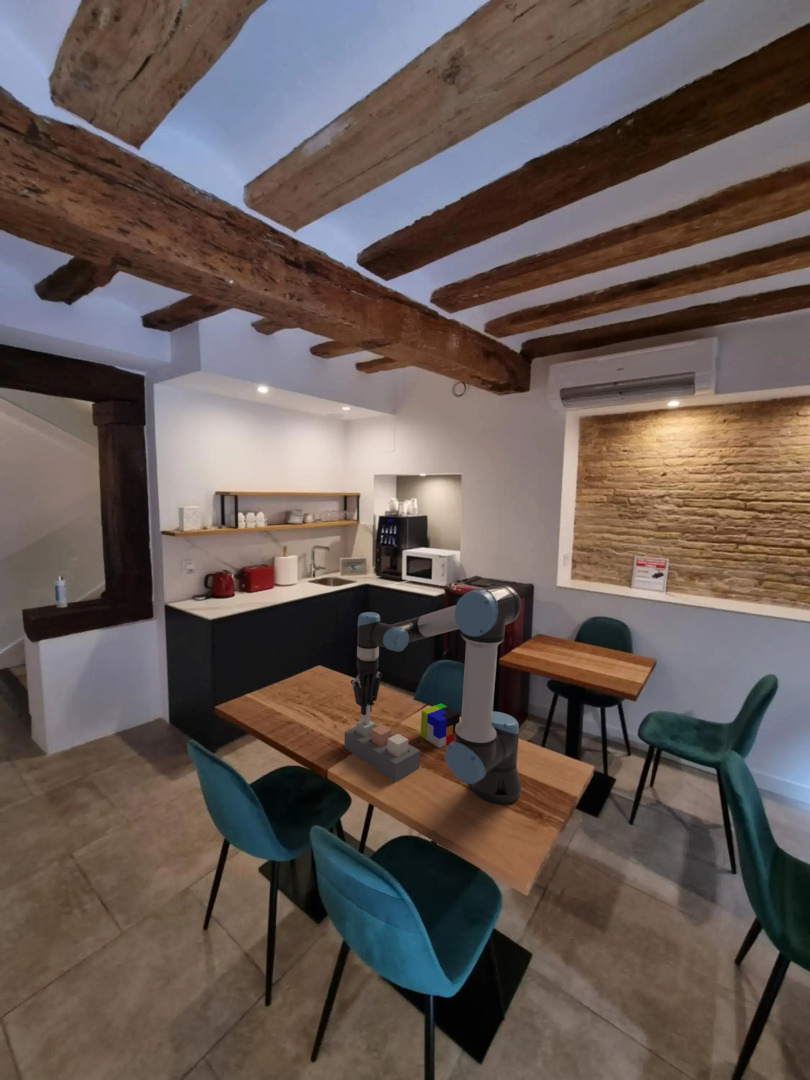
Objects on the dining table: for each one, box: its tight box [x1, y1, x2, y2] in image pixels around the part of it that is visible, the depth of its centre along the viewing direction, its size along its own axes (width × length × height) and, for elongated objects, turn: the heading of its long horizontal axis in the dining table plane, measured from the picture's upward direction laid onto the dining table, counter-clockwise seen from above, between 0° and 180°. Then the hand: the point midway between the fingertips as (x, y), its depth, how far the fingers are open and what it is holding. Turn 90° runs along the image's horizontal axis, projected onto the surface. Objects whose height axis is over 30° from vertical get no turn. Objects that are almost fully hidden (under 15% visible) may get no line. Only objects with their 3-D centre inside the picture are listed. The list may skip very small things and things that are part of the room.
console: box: [343, 725, 421, 783], centre depth 154 cm, size 26×11×6 cm, turn 45°
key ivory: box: [387, 733, 409, 758], centre depth 148 cm, size 5×5×8 cm
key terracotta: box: [371, 724, 393, 748], centre depth 154 cm, size 5×5×8 cm
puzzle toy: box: [420, 702, 461, 748], centre depth 168 cm, size 10×10×10 cm
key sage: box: [355, 719, 377, 738], centre depth 160 cm, size 5×5×8 cm
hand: (365, 722), depth 159 cm, fingers closed
